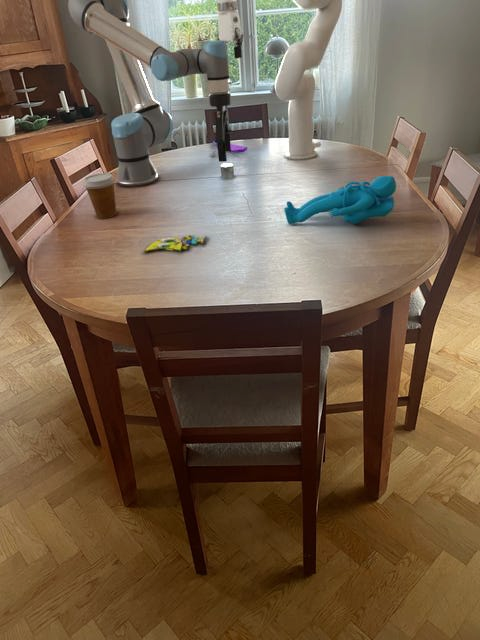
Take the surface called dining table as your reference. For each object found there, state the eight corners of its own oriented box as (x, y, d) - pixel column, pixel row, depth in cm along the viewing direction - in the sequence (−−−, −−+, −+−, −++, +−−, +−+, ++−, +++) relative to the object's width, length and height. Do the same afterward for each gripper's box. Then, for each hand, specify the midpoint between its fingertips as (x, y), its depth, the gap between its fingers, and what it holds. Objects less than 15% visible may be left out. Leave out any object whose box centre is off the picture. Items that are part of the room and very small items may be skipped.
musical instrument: (232, 160, 201) (256, 142, 213) (231, 155, 200) (255, 138, 212) (188, 160, 214) (213, 143, 226) (187, 155, 213) (212, 139, 225)
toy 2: (287, 190, 142) (392, 164, 132) (296, 223, 147) (398, 200, 137) (279, 211, 128) (396, 183, 118) (290, 247, 133) (402, 223, 123)
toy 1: (199, 248, 125) (143, 249, 127) (199, 251, 125) (144, 252, 127) (206, 233, 133) (154, 234, 135) (206, 236, 133) (154, 237, 136)
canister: (221, 179, 178) (220, 167, 176) (221, 175, 182) (220, 163, 179) (234, 178, 178) (233, 166, 175) (234, 174, 182) (233, 162, 179)
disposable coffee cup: (85, 218, 153) (75, 181, 146) (103, 208, 160) (94, 172, 154) (110, 221, 150) (101, 182, 143) (127, 210, 157) (119, 173, 150)
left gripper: (225, 98, 153) (231, 165, 165) (234, 86, 174) (238, 147, 185) (202, 99, 154) (209, 166, 166) (214, 88, 175) (219, 148, 186)
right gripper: (248, 6, 183) (251, 57, 192) (222, 8, 195) (226, 56, 204) (232, 7, 179) (236, 59, 189) (207, 10, 192) (211, 58, 201)
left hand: (225, 156), depth 175 cm, fingers open, 13 cm apart
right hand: (231, 57), depth 197 cm, fingers open, 9 cm apart
